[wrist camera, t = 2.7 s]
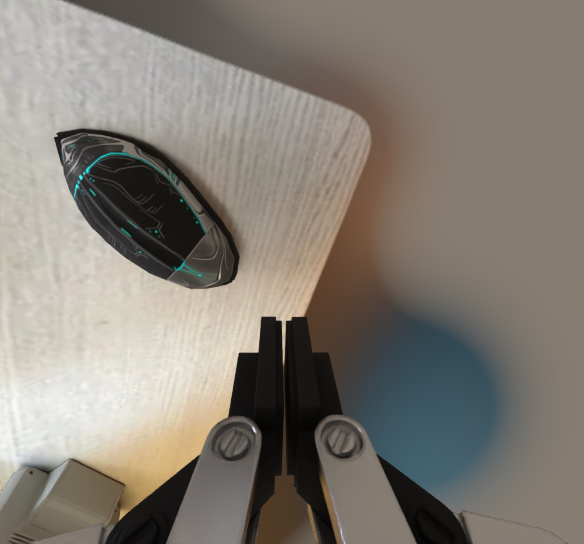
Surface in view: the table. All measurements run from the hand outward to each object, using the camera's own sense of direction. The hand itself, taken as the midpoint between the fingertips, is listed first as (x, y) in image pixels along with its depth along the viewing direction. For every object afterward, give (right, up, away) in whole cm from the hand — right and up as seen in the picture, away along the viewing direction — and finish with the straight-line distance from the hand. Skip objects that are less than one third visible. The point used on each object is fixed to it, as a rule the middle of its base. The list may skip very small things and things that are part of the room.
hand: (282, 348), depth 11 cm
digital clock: (-30, -27, +31) cm, 51 cm away
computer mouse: (-11, +8, +15) cm, 20 cm away
